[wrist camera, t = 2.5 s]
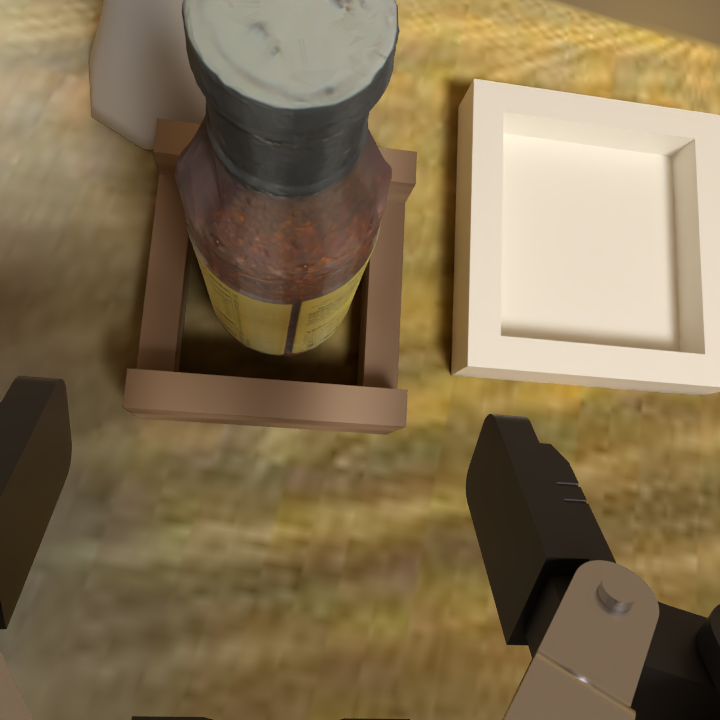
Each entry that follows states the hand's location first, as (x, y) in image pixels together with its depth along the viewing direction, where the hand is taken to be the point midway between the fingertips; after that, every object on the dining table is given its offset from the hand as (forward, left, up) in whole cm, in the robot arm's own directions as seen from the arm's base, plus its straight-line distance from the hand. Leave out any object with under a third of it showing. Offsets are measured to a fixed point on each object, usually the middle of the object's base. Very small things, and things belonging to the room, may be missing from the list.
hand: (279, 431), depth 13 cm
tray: (+15, +12, -18) cm, 26 cm away
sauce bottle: (0, +8, -18) cm, 19 cm away
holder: (0, +8, -18) cm, 19 cm away
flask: (-6, +18, -18) cm, 26 cm away
